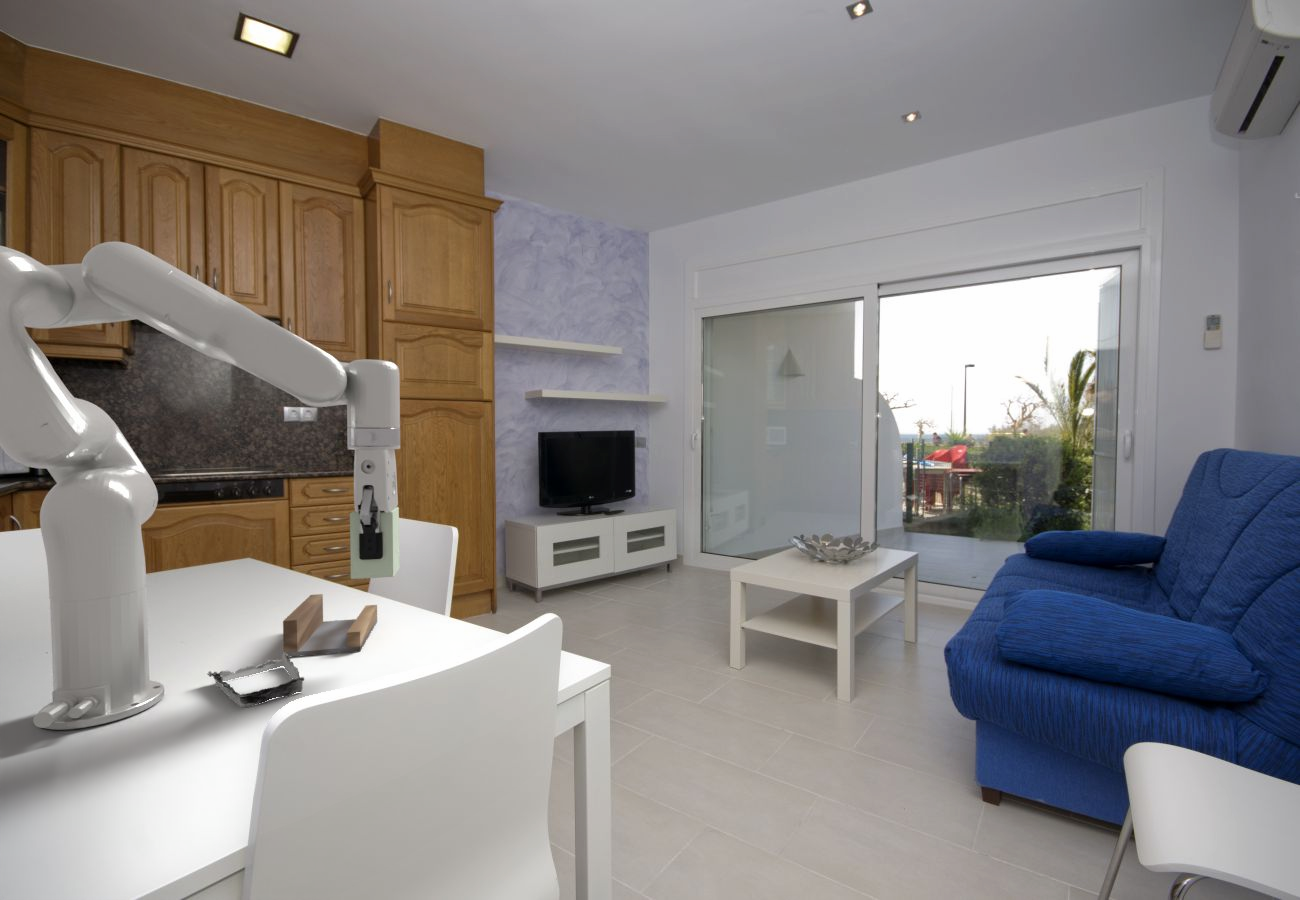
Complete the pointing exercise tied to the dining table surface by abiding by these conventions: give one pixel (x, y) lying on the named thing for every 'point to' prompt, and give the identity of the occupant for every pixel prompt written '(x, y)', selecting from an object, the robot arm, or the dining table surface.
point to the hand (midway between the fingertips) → (375, 553)
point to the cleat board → (325, 630)
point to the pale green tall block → (390, 548)
